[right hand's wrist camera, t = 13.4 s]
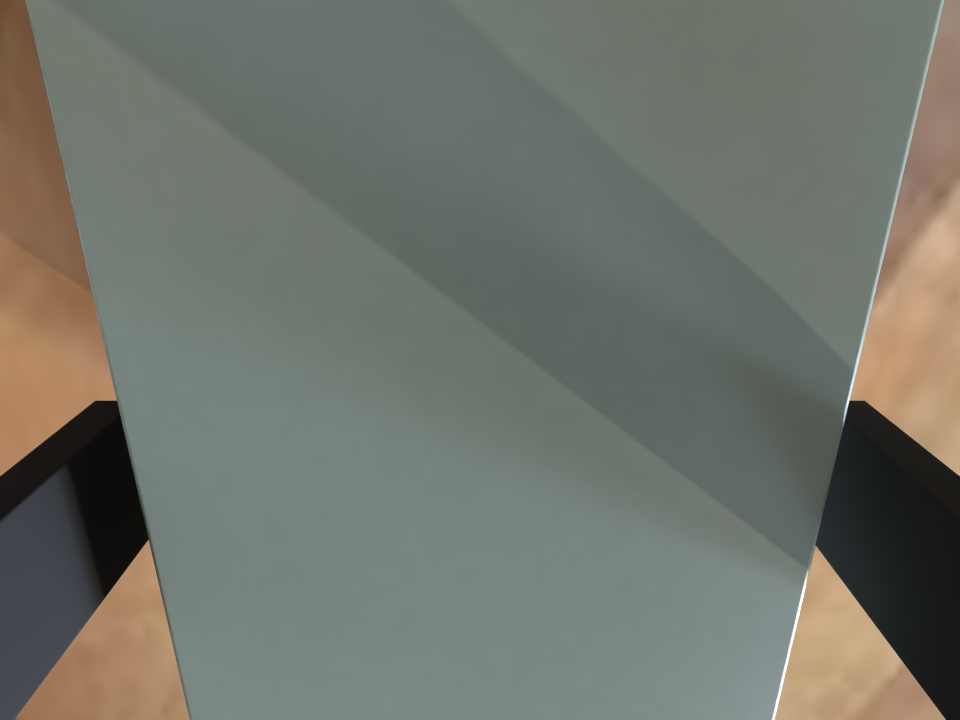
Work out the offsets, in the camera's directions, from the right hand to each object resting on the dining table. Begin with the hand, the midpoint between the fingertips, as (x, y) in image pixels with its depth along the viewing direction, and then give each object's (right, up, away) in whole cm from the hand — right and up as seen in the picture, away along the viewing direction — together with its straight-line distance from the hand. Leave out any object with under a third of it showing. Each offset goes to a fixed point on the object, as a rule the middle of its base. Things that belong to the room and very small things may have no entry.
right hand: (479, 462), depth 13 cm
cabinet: (0, +9, +5) cm, 10 cm away
